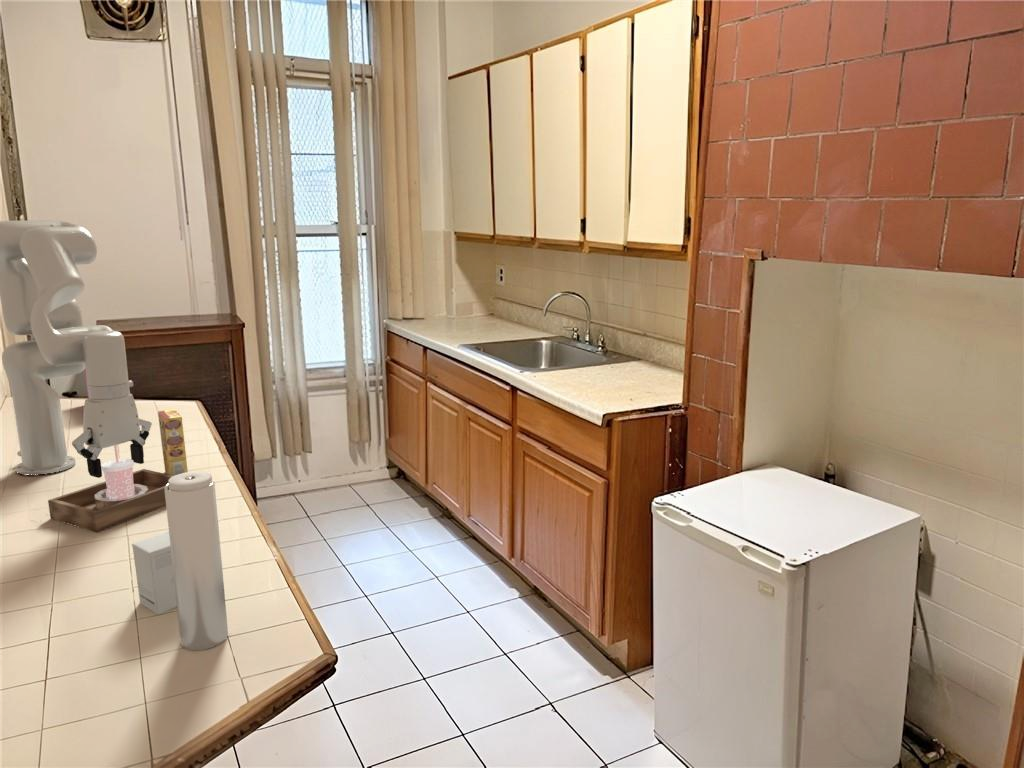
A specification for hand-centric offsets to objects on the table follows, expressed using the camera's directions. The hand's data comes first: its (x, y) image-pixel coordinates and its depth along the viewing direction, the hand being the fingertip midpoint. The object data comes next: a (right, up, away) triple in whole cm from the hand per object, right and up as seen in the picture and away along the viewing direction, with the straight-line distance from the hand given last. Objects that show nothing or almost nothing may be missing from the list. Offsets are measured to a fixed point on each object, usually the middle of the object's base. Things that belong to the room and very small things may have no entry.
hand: (117, 469), depth 158 cm
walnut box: (+1, -8, +1) cm, 8 cm away
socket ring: (+1, -8, +1) cm, 8 cm away
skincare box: (+29, -17, -36) cm, 49 cm away
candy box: (+3, -4, +21) cm, 22 cm away
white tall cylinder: (+38, -20, -48) cm, 65 cm away
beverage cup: (0, -8, +1) cm, 8 cm away
